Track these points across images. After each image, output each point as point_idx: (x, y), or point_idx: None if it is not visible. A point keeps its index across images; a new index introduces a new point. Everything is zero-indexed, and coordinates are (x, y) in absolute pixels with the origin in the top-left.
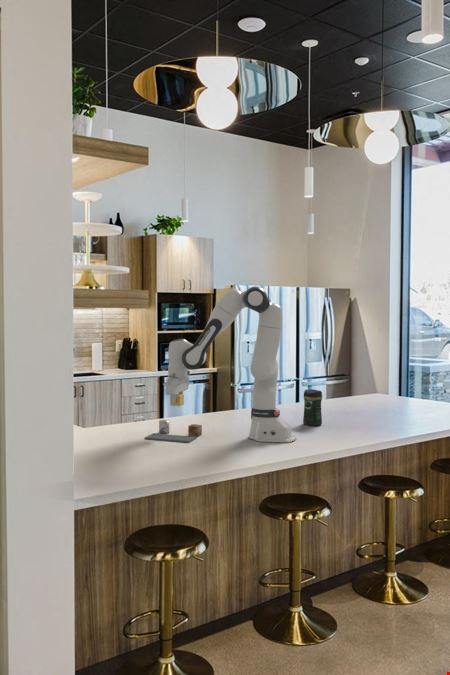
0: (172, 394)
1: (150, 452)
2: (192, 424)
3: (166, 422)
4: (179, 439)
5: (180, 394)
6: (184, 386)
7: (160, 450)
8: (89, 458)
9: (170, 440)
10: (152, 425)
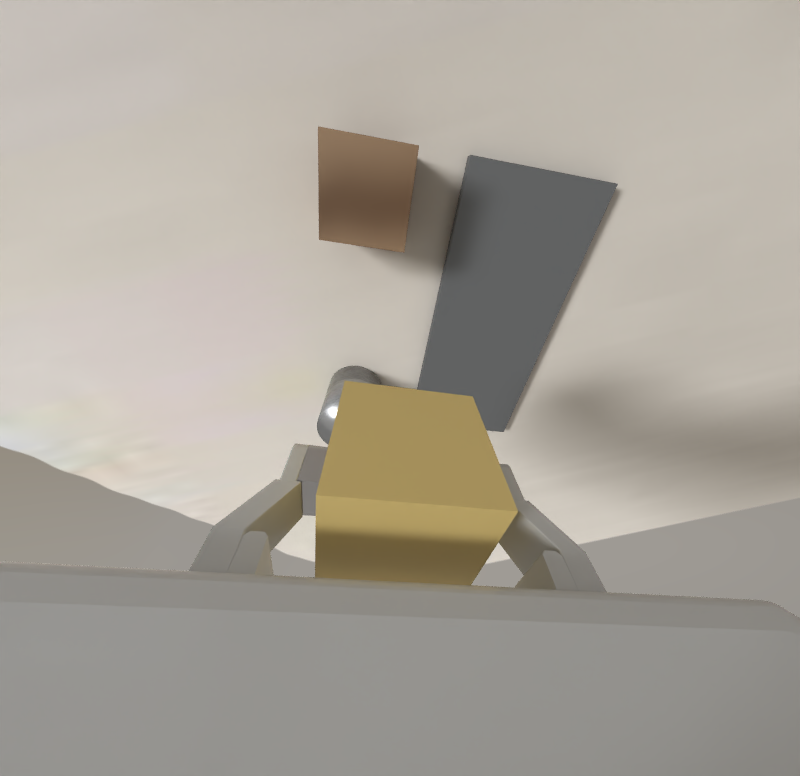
0: (778, 606)
1: (785, 342)
2: (332, 231)
3: None
4: (556, 264)
5: (359, 530)
6: (108, 728)
7: (762, 308)
8: (779, 487)
9: (554, 313)
10: (217, 465)
